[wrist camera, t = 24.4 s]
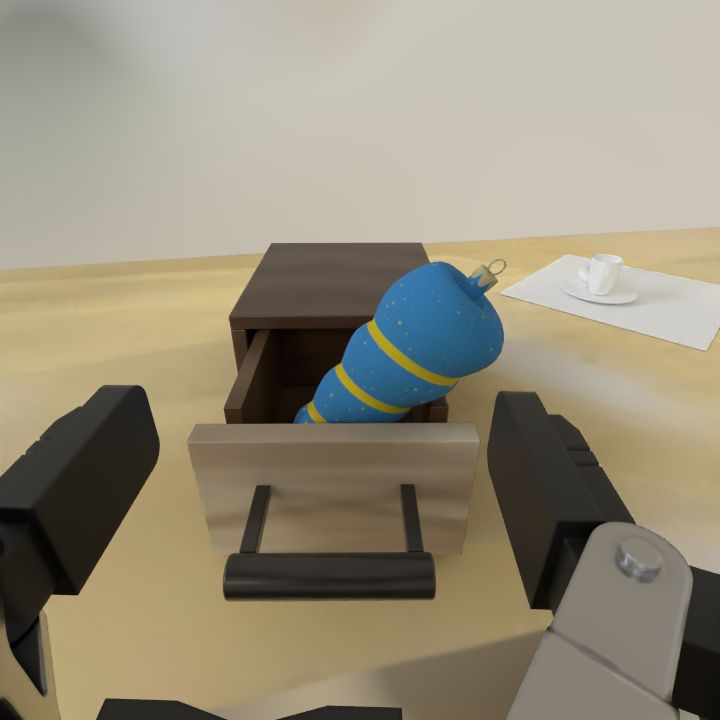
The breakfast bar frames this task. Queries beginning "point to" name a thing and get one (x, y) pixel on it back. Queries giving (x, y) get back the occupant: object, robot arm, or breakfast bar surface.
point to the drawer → (328, 484)
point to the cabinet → (319, 287)
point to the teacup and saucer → (626, 298)
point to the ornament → (412, 348)
